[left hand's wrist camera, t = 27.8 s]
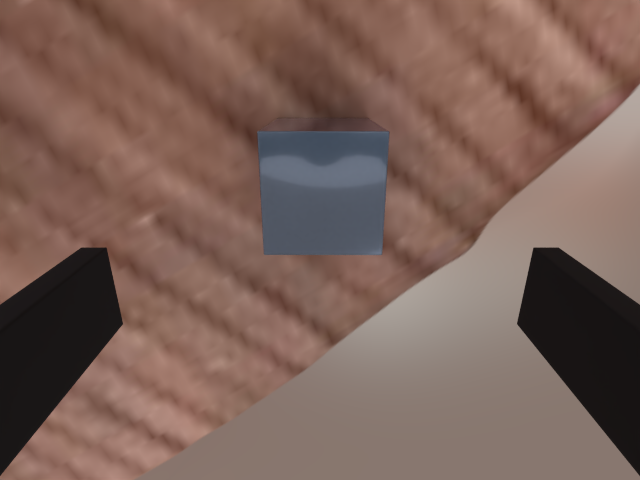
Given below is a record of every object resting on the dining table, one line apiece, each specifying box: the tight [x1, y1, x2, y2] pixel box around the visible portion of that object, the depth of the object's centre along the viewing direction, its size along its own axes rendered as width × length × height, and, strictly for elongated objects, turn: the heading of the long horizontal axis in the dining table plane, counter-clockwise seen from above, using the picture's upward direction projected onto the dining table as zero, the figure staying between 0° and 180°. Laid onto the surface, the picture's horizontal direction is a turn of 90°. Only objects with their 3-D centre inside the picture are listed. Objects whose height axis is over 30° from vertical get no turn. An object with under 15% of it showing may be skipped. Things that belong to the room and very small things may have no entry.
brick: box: [257, 118, 389, 255], centre depth 30 cm, size 8×8×11 cm
